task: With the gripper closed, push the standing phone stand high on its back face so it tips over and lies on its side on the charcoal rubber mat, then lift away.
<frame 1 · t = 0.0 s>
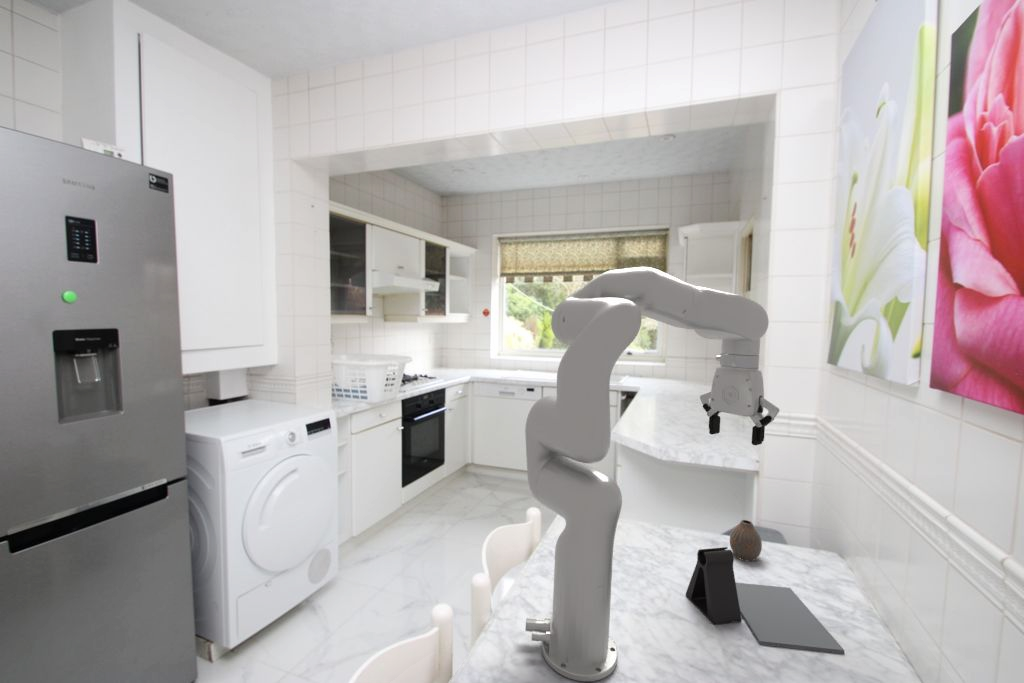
hand: (734, 438, 97), 31 cm above the table, tool pointing down, fingers open, 9 cm apart
vase: (744, 557, 107), on the table
mat: (776, 614, 85), on the table
phone stand: (712, 609, 87), on the table
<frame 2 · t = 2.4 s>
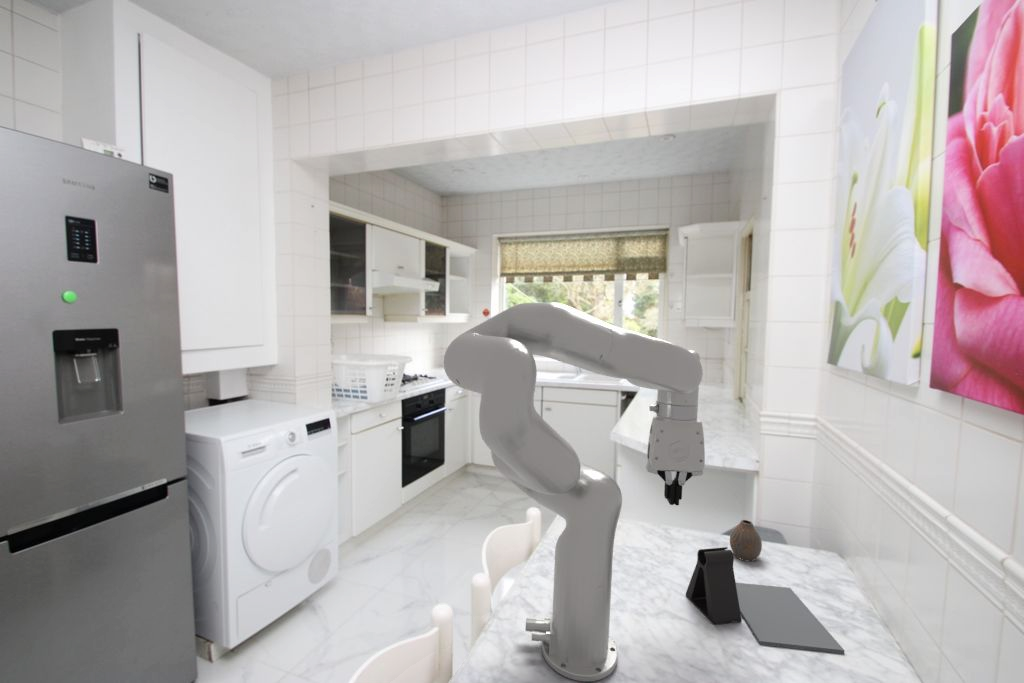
hand: (672, 502, 87), 21 cm above the table, tool pointing down, fingers closed
nothing on the table moved.
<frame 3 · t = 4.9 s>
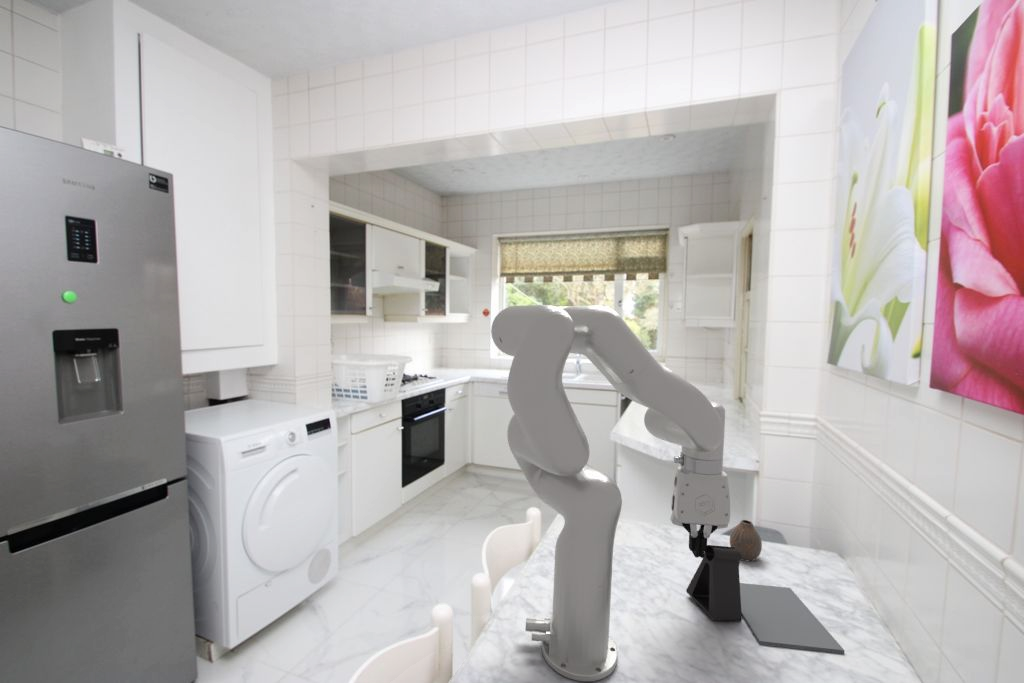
hand: (697, 553, 87), 11 cm above the table, tool pointing down, fingers closed
phone stand: (712, 607, 87), on the table, touching gripper
everything else where it was.
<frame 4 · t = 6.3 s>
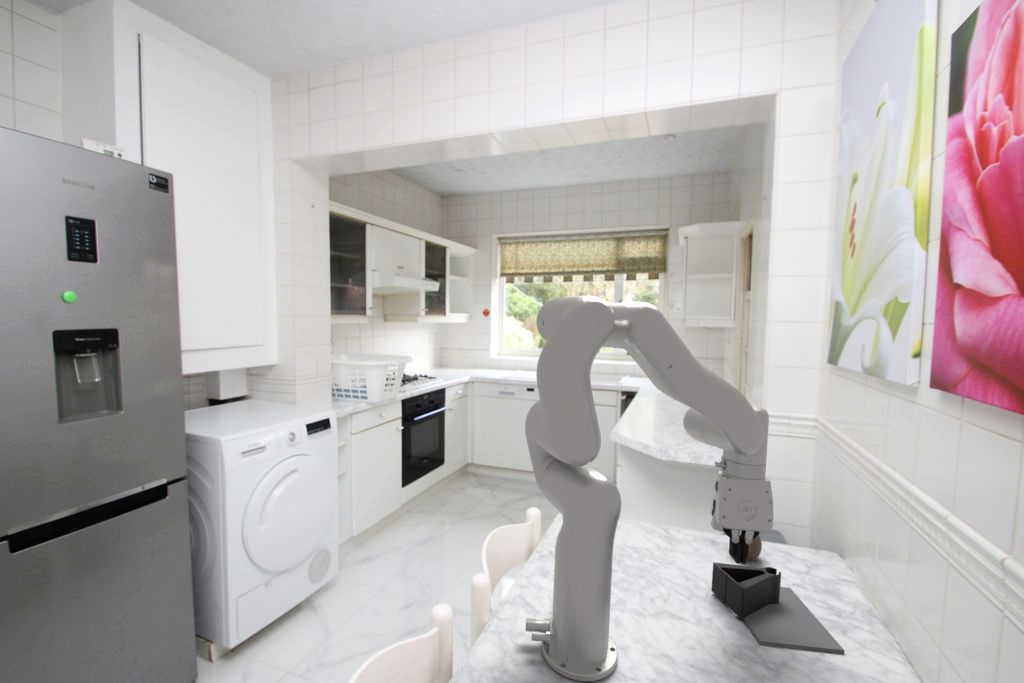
hand: (738, 559, 86), 10 cm above the table, tool pointing down, fingers closed
phone stand: (725, 589, 87), point 4 cm above the table, touching mat
everything else where it was.
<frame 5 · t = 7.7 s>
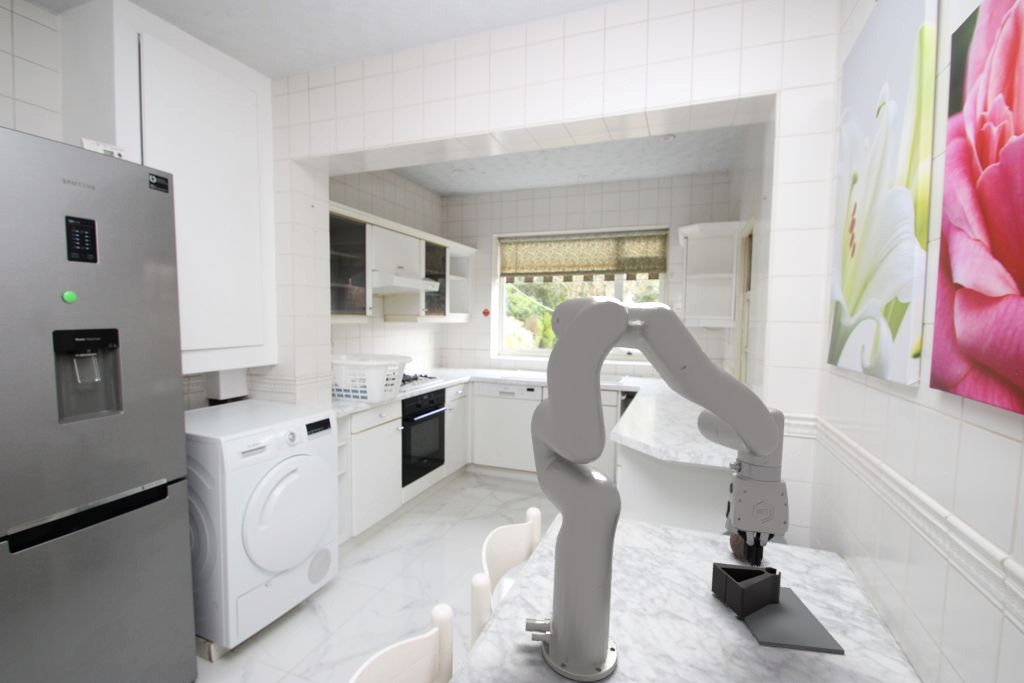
hand: (752, 562, 85), 10 cm above the table, tool pointing down, fingers closed
nothing on the table moved.
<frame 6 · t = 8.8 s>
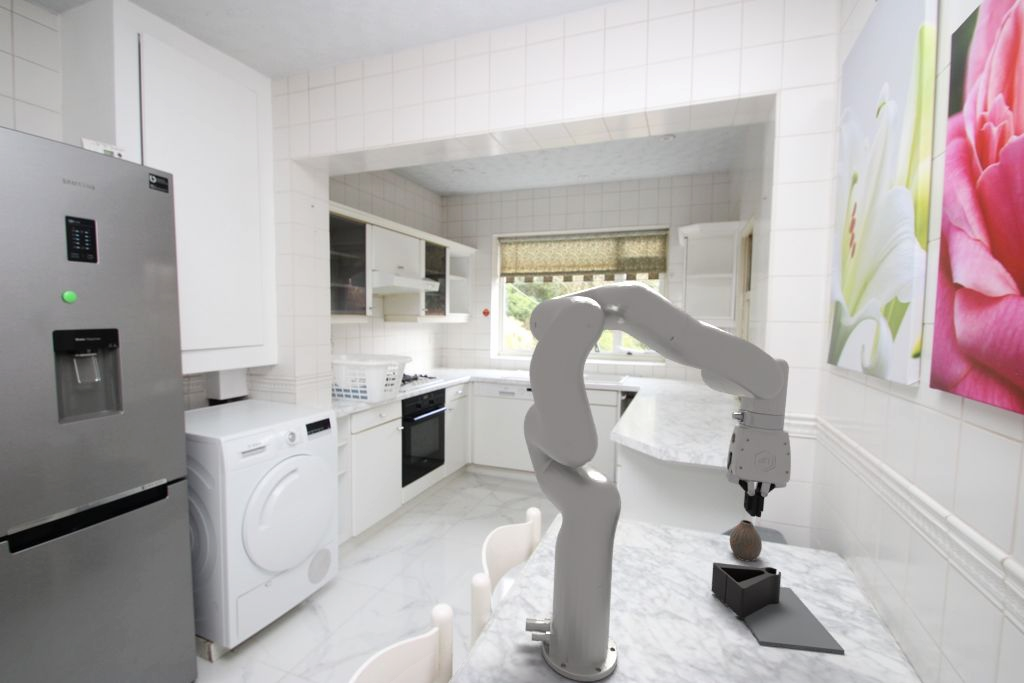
hand: (752, 513, 85), 20 cm above the table, tool pointing down, fingers closed
nothing on the table moved.
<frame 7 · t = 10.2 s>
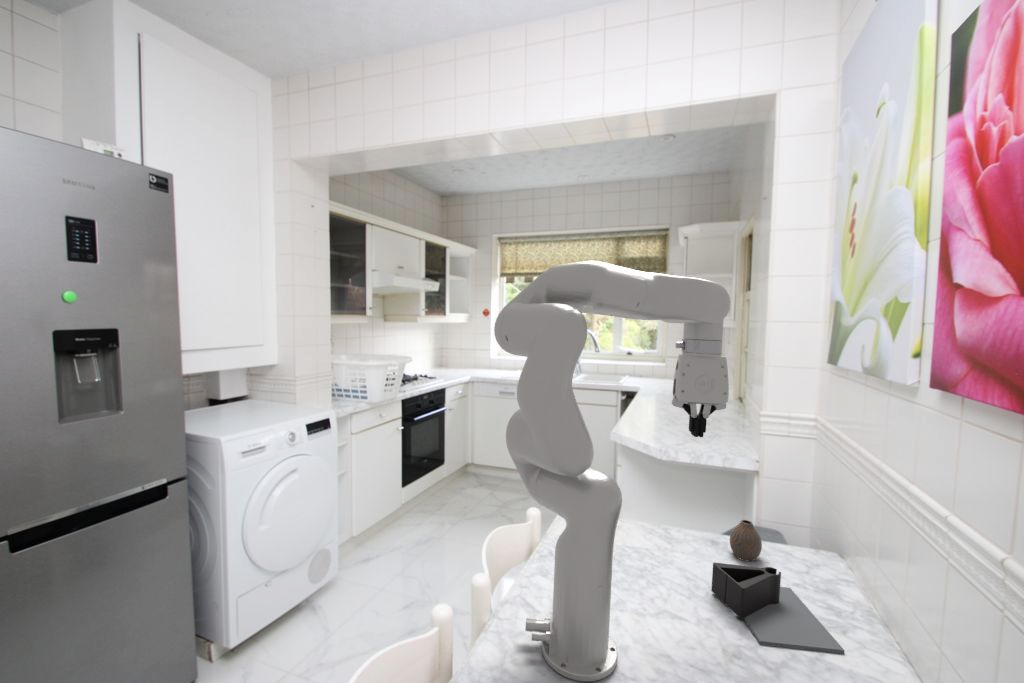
hand: (696, 435, 91), 33 cm above the table, tool pointing down, fingers closed
nothing on the table moved.
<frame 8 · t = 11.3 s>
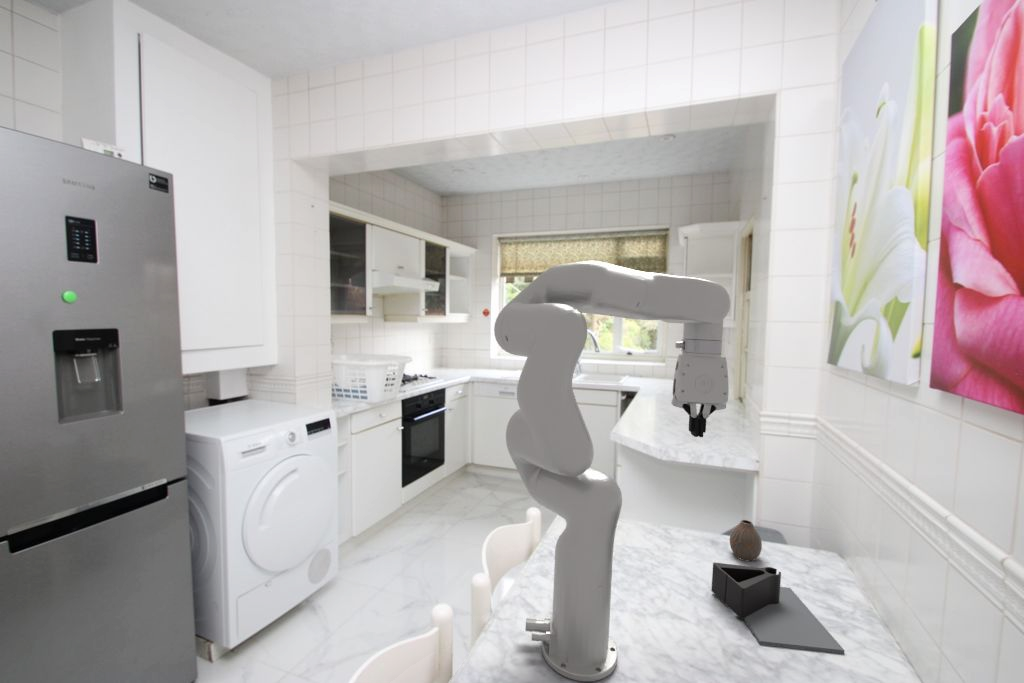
hand: (696, 435, 91), 33 cm above the table, tool pointing down, fingers closed
nothing on the table moved.
at the end: phone stand tilted 90°; phone stand touching mat; phone stand inside the target area (2.7 cm from its centre), point 3.6 cm above the table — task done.
